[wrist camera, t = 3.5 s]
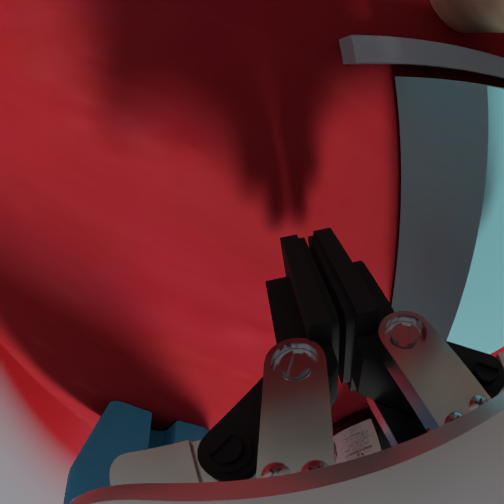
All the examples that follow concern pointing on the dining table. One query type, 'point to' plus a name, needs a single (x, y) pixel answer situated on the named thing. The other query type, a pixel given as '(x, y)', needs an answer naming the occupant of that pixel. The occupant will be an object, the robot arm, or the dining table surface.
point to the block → (120, 444)
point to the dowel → (471, 15)
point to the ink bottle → (358, 437)
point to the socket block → (452, 209)
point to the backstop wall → (418, 54)
